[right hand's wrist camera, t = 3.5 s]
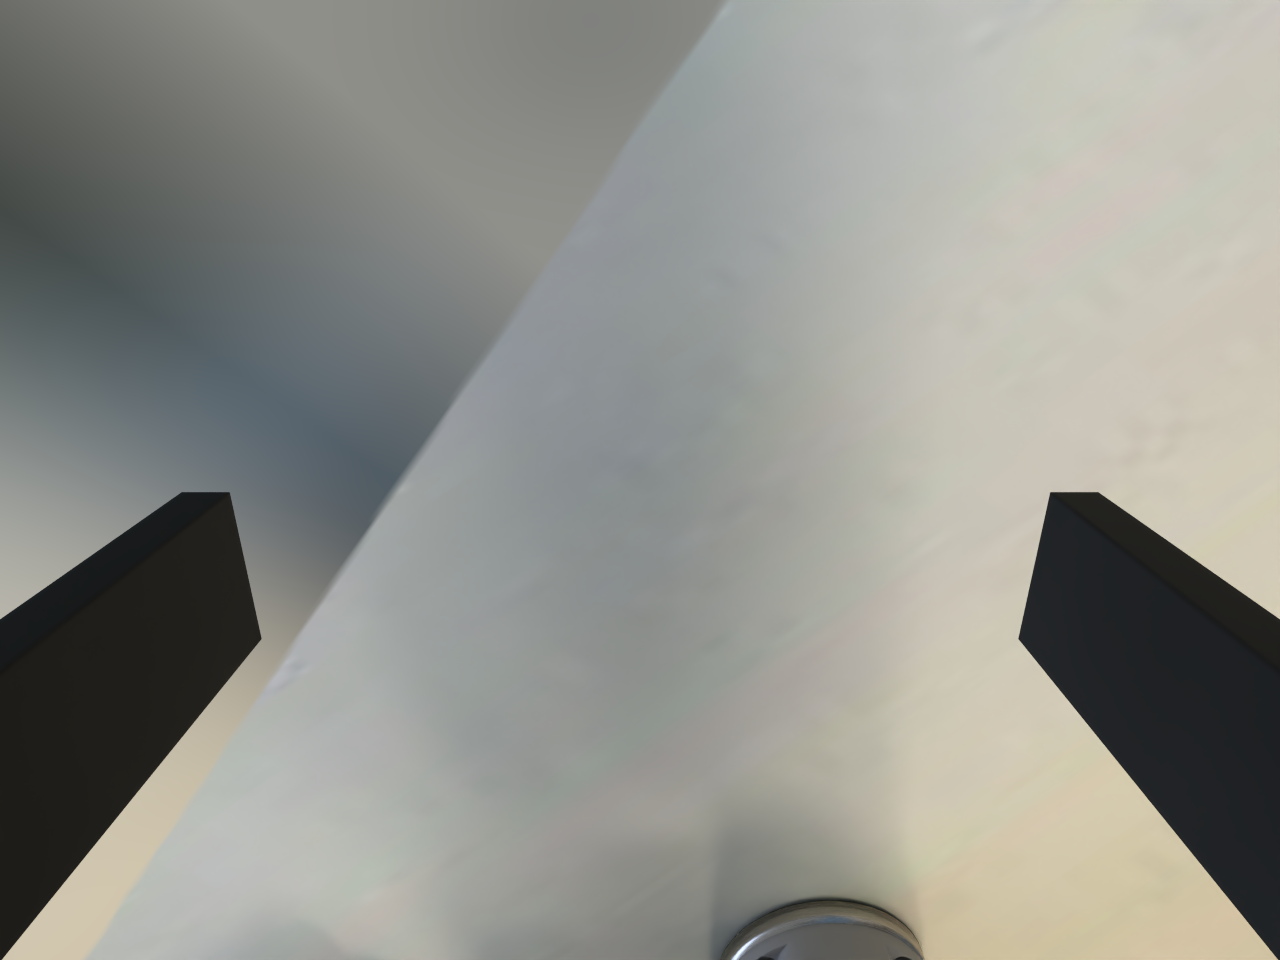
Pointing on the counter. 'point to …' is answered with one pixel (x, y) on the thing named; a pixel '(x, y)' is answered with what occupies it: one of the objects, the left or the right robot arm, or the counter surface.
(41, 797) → the right robot arm
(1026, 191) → the counter surface
